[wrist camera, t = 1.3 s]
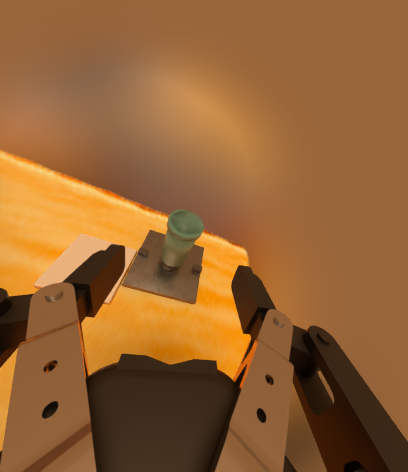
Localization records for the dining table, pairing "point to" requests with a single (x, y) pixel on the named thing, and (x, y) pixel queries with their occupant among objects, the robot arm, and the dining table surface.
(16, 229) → the dining table surface
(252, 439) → the robot arm
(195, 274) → the base plate
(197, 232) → the green cup
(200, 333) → the dining table surface
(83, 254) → the tile
